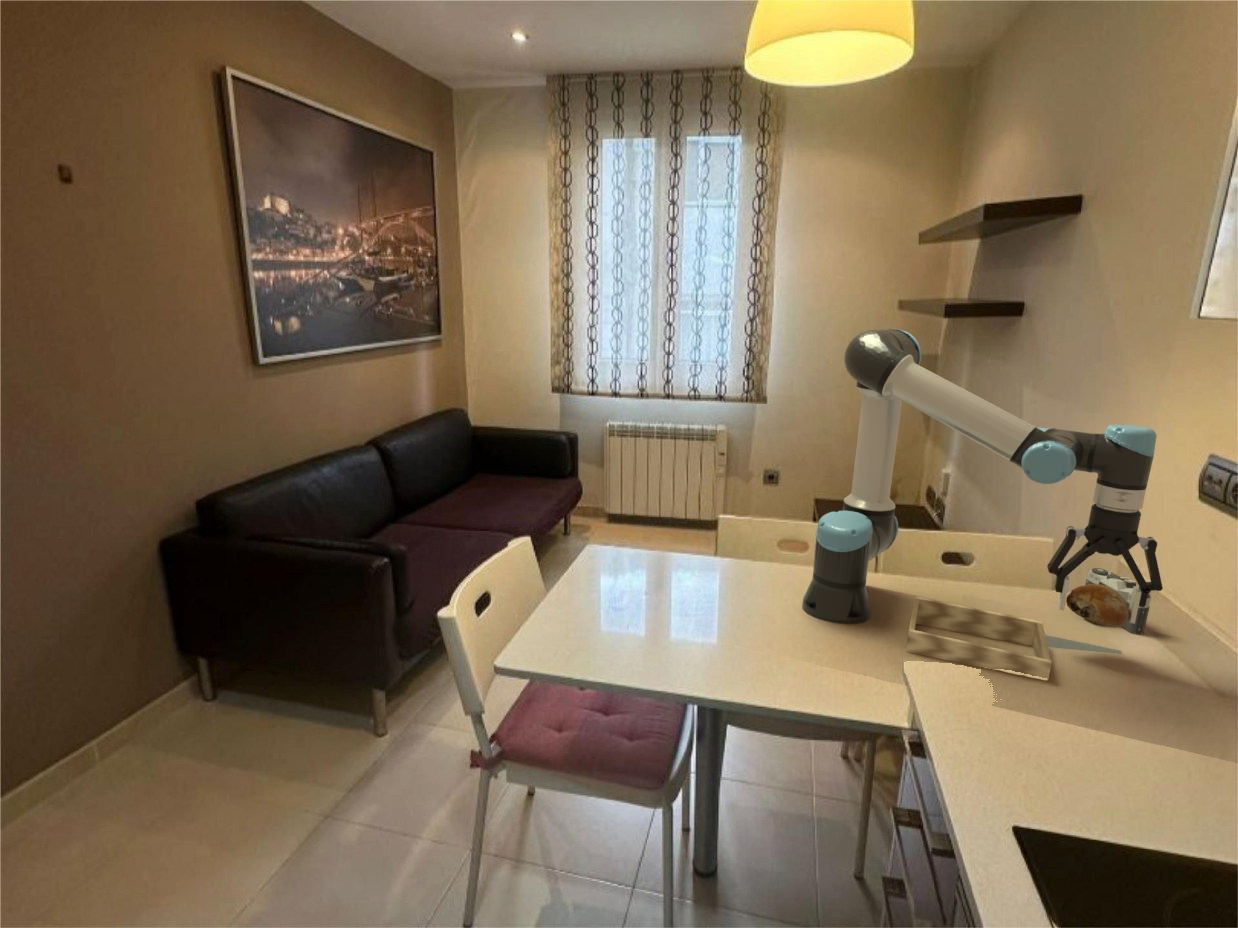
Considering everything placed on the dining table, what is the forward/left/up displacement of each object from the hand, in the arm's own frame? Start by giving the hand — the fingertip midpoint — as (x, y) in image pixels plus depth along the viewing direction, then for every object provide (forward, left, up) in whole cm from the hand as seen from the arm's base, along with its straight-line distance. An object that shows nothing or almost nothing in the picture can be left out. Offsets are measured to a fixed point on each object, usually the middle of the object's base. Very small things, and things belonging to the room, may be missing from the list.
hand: (1095, 613), depth 126 cm
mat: (0, 0, -10) cm, 10 cm away
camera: (+6, +25, -11) cm, 28 cm away
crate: (-20, -8, -10) cm, 24 cm away
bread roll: (-2, 0, -2) cm, 2 cm away
